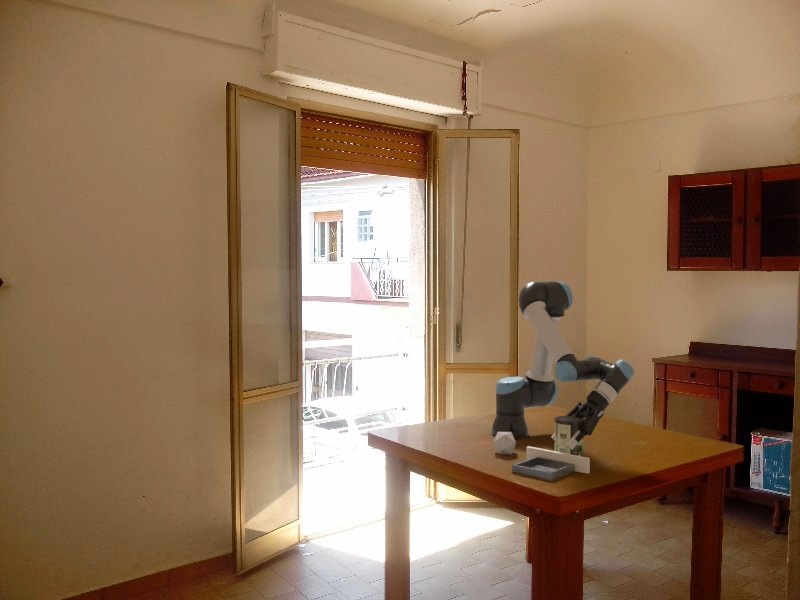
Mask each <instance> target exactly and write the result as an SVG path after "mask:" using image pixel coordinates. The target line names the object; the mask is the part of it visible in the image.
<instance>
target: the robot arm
mask: <svg viewBox="0 0 800 600" xmlns="http://www.w3.org/2000/svg"><path fill="white" fill-rule="evenodd" d="M573 300H574V296H573V292H572V290H571V287H570V286H569V285H568V284H567V283H566V282H563V281H556V280H553V281H552V280H551V281H550V280H549V281H531V282H528V283H526V284H525V285H524V286H523V287H522V288H521V290H520V292H519V294H518V300H517V301H518V307H519V310H520V312H521V314H522V315H523V317H524V318H525V319H527V320H529V322H530V324H531V325H532V327H533V328H534V330H535V339H534V344H533V350H532V351H533V352H532V359H531V366H530V369H529V370H528V371H527V372H526V373H525V377H522V376H509V377H507V376H506V377H503V378H500V379H498V380H497V382H496V387H495V417H494V421H493V424H492V427H491V434H493V436H494V437H496V435H497V432H512V435H513V437H514V439H522V438H526V437H528V436H530V435H529V431H530V430H529V427H528V423H527V420H526V417H525V409H526V408H537V407H538V408H539V407H541V408H543V407H545V406H550V405H552V404H554V402H555V401H556V400H557V398H558V392H559V388H558V387H557V386H558V384H557V382H556V380H555V378H556V379H557V380H558V381H559V382H561V383H572V382H573V383H574V382H580V381H582V382H583V381H585V382H586V381H595V380H598V381H599V382H598V383H597V384H596V385H595V387H594V388H593V390H591V392H589V394H588V395H586V398H585V399H586V402H585V403H584V404H583V403H582V402H578V403H577V404H576V406H575V407H574V408H572V409H571V410H570V411H569V412H568V413H566V414H565V415H564V416H575V417H580V418H583V419H584V422H583V425H582V427H581V428H580V429H579V430H580V431H581V432H580V431H579V430H578V431H577V432H576V433H575V435H574V436H573V437H572V438H571V439H570V440H569V442H568V443H567V446H568V447H569V448H570V449H572V450H573V448H574V447H575V446H576V445H577V444H578V442H579V441H580V440H581V439H582V438H583V437H584V438H585V437H586V436H591V435H592V434H593V433H594V430H595V429H596V427H597V425H598V423H599V422H600V420H601V419H602V417H603V416H604V415H605V414H604V411H605V410H606V409H607V408H608V406H609V405H610V404H609V403H612V402H613V400H614V399H615V398H616V396H617V395H618V394H619V393H620V392H621V391H622V390H623V388H625V387H626V385H627V384H628V383H629V382H630V381H631V379H632V378H633V376H634V375H635V373H636V370H635V368H634V367H633V366H632V365H631V364H630V363H629V362H628V361H626V360H623V359H618V360H617V361H616V362H615V363H613V362H610V361H607V360H606V359H603V358H601V357H598V356H594V355H593V356H591V355H590V356H588V357H587V358H585V359H580V360H579V359H577V357H576V355H575V354H574V352H573V350H572V349H571V348H570V346H569V344H568V342H567V341H566V340H565V338H564V336H563V335H562V333H561V332H560V330H559V325H560V320H561V319H563V318H564V317H565V312H566V311H567V310H569V309H570V308H571V307H572V305H573V302H574V301H573ZM553 362H554V363H555V366H554V373H555V377H554V376H553V374H552V371H553V370H552V368H553V364H554V363H553ZM550 438H551V439H552V440H553V441H554V442H555V432H554V433H553V434H552V435H551V437H550Z"/></svg>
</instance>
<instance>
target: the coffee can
mask: <svg viewBox="0 0 800 600" xmlns="http://www.w3.org/2000/svg"><path fill="white" fill-rule="evenodd" d="M584 419H585V418H580V417H575V416H565V415H562V416H561V415H560V416H556V417H554V419H553V420H554V433H555V441H554V451H556V452H561V453H566V454H572V455H577V456H582V457H584V449H585V448H584V447H585V443H584V442H585V441H584V440H585V439H584V438H585V436H584V437H583V438H582V439H581V440H580V441H579V442H578V444H577V445H576V446H575V447H574V448H573V450H572V449H570V448H569V447H568V446H567V443H568V442H569V440H570V439H571V438H572V437H573V436H574V435H575V433H576V432H577V431H578V430H579V429H580V428H581V427H582V425H583V422H584ZM579 431H580V430H579ZM580 432H581V431H580Z"/></svg>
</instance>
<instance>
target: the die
mask: <svg viewBox="0 0 800 600" xmlns="http://www.w3.org/2000/svg"><path fill="white" fill-rule="evenodd" d="M515 439H516V438H514V437H513V435H512V432H497V435H496V436H494V440H493V442H492V443H493V445H494V449H495V451H496V454H498V453H501V454H500V455H512V454H513V453H514V452H513V451H514V449H515V446H516V444H517V442H516V440H515Z"/></svg>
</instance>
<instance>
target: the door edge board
mask: <svg viewBox="0 0 800 600" xmlns="http://www.w3.org/2000/svg"><path fill="white" fill-rule="evenodd" d="M525 449H526V450H525V455H526V456H525V457H526V458H525V459H526V460H528V459H530V458H533V457H536V456H537V457H542V458H547V459H551V460H556V461H561V462H566V463H571V464H575V471H574V472H578V473H583V474H590V472H591V468H590V467H591V465H590V463H591V462H590V461H591V458H590V457H587V456H583V457H582V456H577V455H572V454H566V453H561V452H556V451H555V450H550V449H546V448H545V449H544V448H540V447H535V446H530V445H528V446H526V447H525Z"/></svg>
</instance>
